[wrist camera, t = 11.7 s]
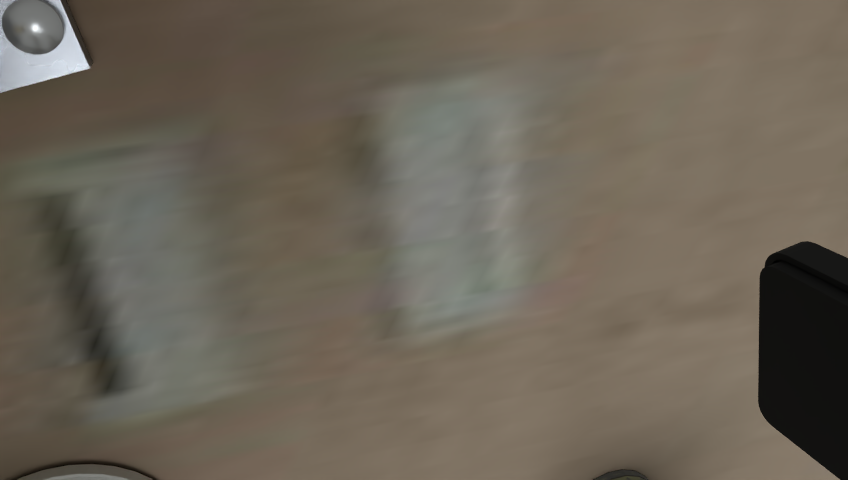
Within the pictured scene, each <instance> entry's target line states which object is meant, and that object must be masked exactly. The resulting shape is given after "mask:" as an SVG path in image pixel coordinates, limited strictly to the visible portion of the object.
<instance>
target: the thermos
mask: <svg viewBox="0 0 848 480" xmlns="http://www.w3.org/2000/svg"><path fill="white" fill-rule="evenodd" d="M594 480H648V479H647V478H646V477H645V476H644V475H642V474H640V473H638V472H636V471H631V470H618V471H614V472H610V473H606V474H604V475H602V476H600V477H598V478H596V479H594Z"/></svg>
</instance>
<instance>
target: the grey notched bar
mask: <svg viewBox="0 0 848 480" xmlns="http://www.w3.org/2000/svg"><path fill="white" fill-rule="evenodd" d="M92 64H93V62H92V59H91V57H90V55H89V52H88V50H87V48H86V45H85V43H84V41H83V38H82V36H81V34H80V32H79V29H78V27H77V25H76V22H75V20H74V18H73V15H72V13H71V11H70V8H69V6H68V4H67V1H66V0H0V93H1V92H5V91H8V90H12V89H16V88H19V87H23V86H27V85H30V84H34V83H38V82H42V81H45V80H49V79H53V78H56V77H60V76H64V75H67V74H71V73H75V72H78V71H82V70H86V69H89V68H90V67H91V66H92Z"/></svg>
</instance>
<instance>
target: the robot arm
mask: <svg viewBox="0 0 848 480" xmlns="http://www.w3.org/2000/svg"><path fill="white" fill-rule="evenodd" d="M758 403H759V407H760V410H761V412H762V414H763V416H764V418H765V419H766V420H767V421H768V423H770V424H771V425H772V426H773V427H774V428H775V429H777V430H778V431H779V432H780V433H782V434H783V435H784V436H786V437H787V438H788V439H789V440H791V441H792V442H793V443H794V444H796V445H797V446H798V447H800V448H801V449H802V450H803V451H805V452H806V453H807V454H808V455H810V456H811V457H812V458H813V459H815V460H816V461H817V462H819V463H820V464H821V465H822V466H824V467H825V468H826V469H827V470H829V471H830V472H831V473H833V474H834V475H835V476H836V477H838V478H839V479H840V480H848V258H846V257H844V256H842V255H840V254H837V253H835V252H833V251H831V250H829V249H826V248H824V247H822V246H820V245H818V244H815V243H812V242H809V241H806V242H800V243H798V244H795V245H793V246H790V247H788V248H786V249H783V250H781V251H778V252H776V253H773V254H772V255H770V256H769V257H768V258H767V260H766V262H765V268H763V269H762V271H761V273H760V300H759V383H758ZM17 480H153V479H151V478H149V477H146V476H144V475H142V474H140V473H138V472H135V471H131V470H127V469H124V468H120V467H116V466H107V465H96V464H83V465H67V466H61V467H56V468H51V469H46V470H42V471H39V472H36V473H33V474H30V475H27V476H24V477H21V478H19V479H17Z"/></svg>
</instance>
